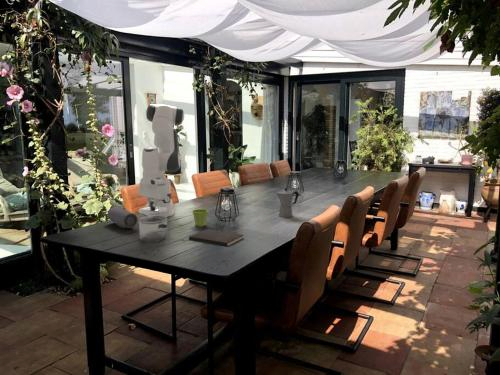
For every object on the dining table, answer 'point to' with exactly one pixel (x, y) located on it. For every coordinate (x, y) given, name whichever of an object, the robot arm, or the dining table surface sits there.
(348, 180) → the dining table surface
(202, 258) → the dining table surface
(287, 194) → the coffeepot
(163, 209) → the lid
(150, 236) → the cooker
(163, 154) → the robot arm
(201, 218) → the plant pot
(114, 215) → the bluetooth speaker
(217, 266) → the dining table surface
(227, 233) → the hardcover book
